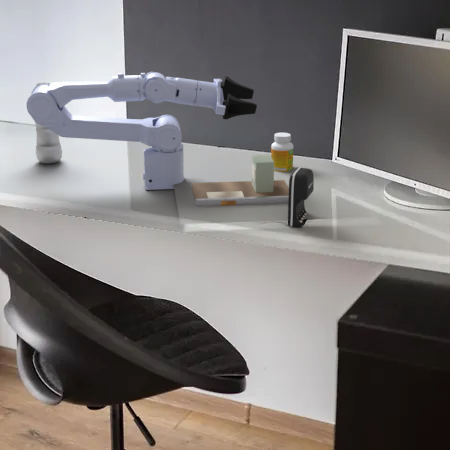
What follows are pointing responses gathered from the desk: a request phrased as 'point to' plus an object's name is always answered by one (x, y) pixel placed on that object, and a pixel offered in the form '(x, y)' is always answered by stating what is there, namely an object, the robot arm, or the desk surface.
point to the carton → (262, 173)
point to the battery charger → (299, 195)
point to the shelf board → (237, 193)
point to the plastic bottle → (47, 144)
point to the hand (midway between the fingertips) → (254, 101)
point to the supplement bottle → (282, 152)
